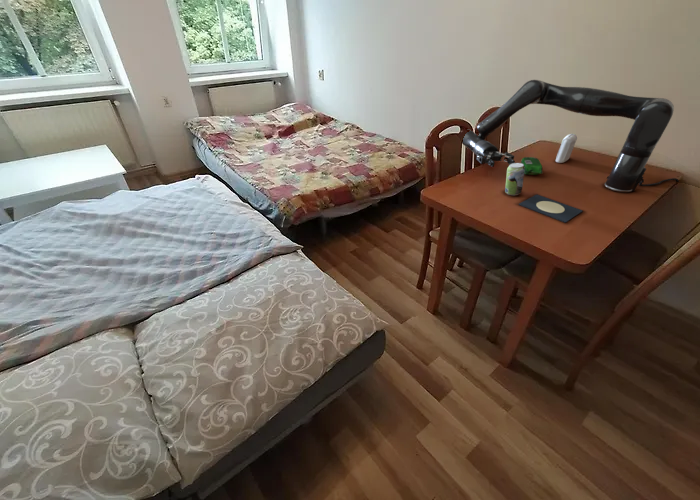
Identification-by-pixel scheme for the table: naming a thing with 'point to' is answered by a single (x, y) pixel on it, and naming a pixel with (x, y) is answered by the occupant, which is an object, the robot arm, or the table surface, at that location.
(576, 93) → the robot arm
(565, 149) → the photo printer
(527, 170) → the snack package
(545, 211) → the mat
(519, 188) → the beverage can
